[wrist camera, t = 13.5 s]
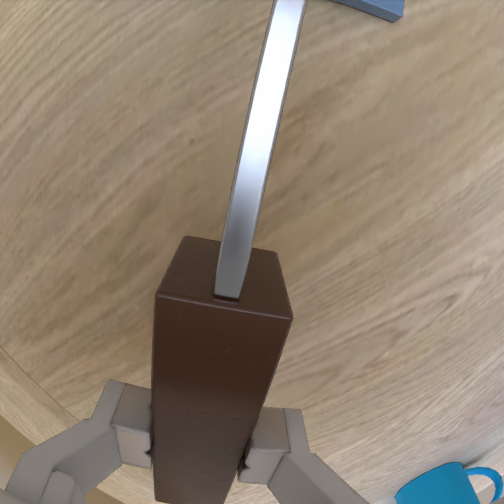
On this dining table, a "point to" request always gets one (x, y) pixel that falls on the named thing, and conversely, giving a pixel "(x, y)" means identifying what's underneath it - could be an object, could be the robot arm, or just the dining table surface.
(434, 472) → the mug
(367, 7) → the butter dish
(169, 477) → the butter knife
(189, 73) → the dining table surface
